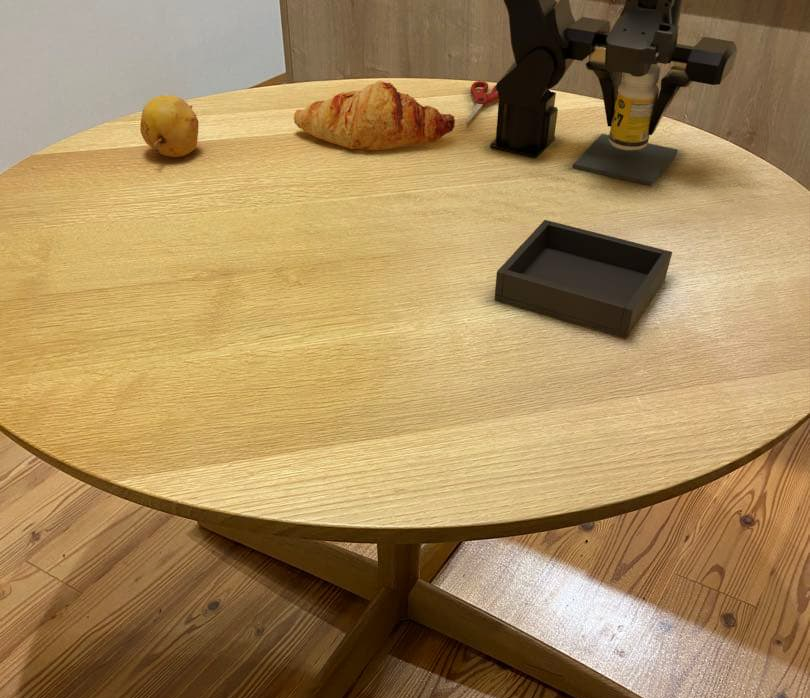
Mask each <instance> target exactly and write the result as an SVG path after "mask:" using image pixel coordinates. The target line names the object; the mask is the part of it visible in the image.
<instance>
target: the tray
mask: <svg viewBox="0 0 810 698" xmlns="http://www.w3.org/2000/svg"><path fill="white" fill-rule="evenodd" d="M672 256H673V251H670V250H666V249H662V248H659V247H655V246H650V245H646V244H643V243H638V242H634V241H630V240H626V239H624V238H619V237H615V236H610V235H607V234H603V233H599V232H595V231H591V230H588V229H583V228H579V227H577V226H571V225H568V224H564V223H560V222H555V221H551V220H548V219H543V221H542V222H541V223H540V224H539V225H538V226H537V227H536V228H535V229H534V231H533V232H532V233H531V234H530V235H529V236H528V237H527V238H526V239H525V240H524V241H523V243H522V244H521V245H520V246H519V247H518V248H516V250H515V251H514V252H513V253H512V254H511V255H510V257H509V258H507V260H506V261H505V262H504V263H503V264H502V265H501V266H500V268H498V270H497V271H496V277H495V288H494V289H495V290H494V301H497V302H501V303H504V304H508V305H511V306H514V307H517V308H521V309H524V310H527V311H532V312H535V313H538V314H541V315H545V316H547V317H551V318H555V319H558V320H562V321H565V322H568V323H571V324H575V325H578V326H581V327H585V328H588V329H592V330H595V331H598V332H601V333H604V334H608V335H611V336H615V337H619V338H622V339H624V340H625V339H628V337H629V336H630V334H631V332H632V331H633V329H634V328H635V326H636V325H637V324H638V322H639V320H640V319H641V317H642V316H643V314H645V313H644V312H645V311H646V310H647V308H648V307H649V305H650V304H651V302H652V300H653V299H654V298H655V296H656V295H657V293H658V291H659V290H660V288H661V287H662V285H663V284H664V282H665V281H666V278H667V274H668V271H669V268H670V263H671V258H672Z"/></svg>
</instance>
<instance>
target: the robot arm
mask: <svg viewBox="0 0 810 698" xmlns="http://www.w3.org/2000/svg"><path fill="white" fill-rule="evenodd" d="M503 3H504V5H505V8H506V10H507V15H508V24H509V25H508V26H509V35H510V37H509V38H510V46H511V50H512V54H513V58H514V61H513V63H512V64H511V65H510V66H509V68H508V69H507V71H506V72H504V74H503V75H502V76H501V78H500V79H499V80H498V81H497V83H496V84H495V85H496V89H497V91H496V93H498V97H499V100H498V105H497V117H496V131H495V133H496V134H495V139H494V140H492V141H491V142H490V144H489V149H491V150H495V151H499V152H504V153H508V154H512V155H517V156H520V157H521V156H522V157H525V158H530V159H537V158H539V157H540V156H541V155H542V154H543V153H544V152H545V151H546V150H547V149H548V148H549V147H550V146H551V145H552V144H553V143H554V142H555V141H556V129H557V128H556V127H557V122H558V121H557V119H558V111H559V109H558V106H555V103H556V97H557V96H556V95H557V92H556V91H551V90H550V89H552V88H554V87H555V86H557V85H558V84H559V83H560V82H561V80H562V78H563V77H564V76H565V74H566V73H567V71H568V70H569V68H570V67H571V66H572V64H573V63H574V61H579V62H583V61H584V60H585V59H586V58H587V57H588V61H586V63H585V68H586V70H588V71H592V72H593V74H595V76H596V78H597V79H598V82H599V86H600V88H601V94H602V99H603V105H604V112H605V119H606V124H607V125H606V126H607V127H610V128H611V123H612V118H613V112H614V107H615V101H616V96H617V90H618V87H619V85H620V84H621V83H622V82H623V74H624V73H628V74H631V75H632V76H635V77H641V76H644V75H646V74H647V73H648V71H649V69H650V66H651V65H652V64H655V65H658V64H663V65H668V64H669V66H668V67H669V71H668V72H667V73H665V75H664V76H663V77H662V78H661V80H660V89H659V95H658V99H657V103H656V106H655V109H654V112H653V115H652V119H651V122H650V127H649V133H648V135H650V136H652V135H654V133H655V132H656V130H657V128H658V126H659V124H660V123H661V121H662V119H663V117H664V116H665V114H666V112H667V110H668V108H669V106H670V105H671V103H672V101H673V99H674V98H675V96H676V95H677V93H678V92H679V90H680V89H681V88H687V87H689V86H690V85H691V84H692V83H693V82H694V83H700V84H704V85H711V86H718V85H721V84H722V82H723V81H724V80H725V79H726V78H727V76H728V75H729V74H730V72H732V70H733V67H734V65H735V60H736V57H737V53H738V47H737V46H736V43H735V41H733V40H726V39H721V38H714V37H708V36H703V37H702V38H701V39H700V40H699V41H698V42H697V43H696V44H695V45H694V46H692V45H687V44H681V43H678V37H679V28H680V25H679V24H680V18H681V13H682V10H683V5H684V0H625V2H624V6H623V8H622V11H621V12H620V15H619V17H618V18H617V19H616V21H615V23H614V24H613V26H612V27H611V23H610V21H609V20H605V19H599V18H598V19H597V18H592V17H585V16H581V17H580V18H578V19H577V20H575V18H574V16H573V12H572V7H571V3H570V0H503Z"/></svg>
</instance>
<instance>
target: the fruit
mask: <svg viewBox="0 0 810 698" xmlns="http://www.w3.org/2000/svg"><path fill="white" fill-rule="evenodd" d="M197 116H198V114H196V113H195V112H194V110H193V104H191V105H189V104H188V103H187V102H186V101H185V100H184V99H182V98H180V97H179V96H176V95H175V96H174V95H169V94H167V95H165V94H164V95H158V96H156V97H153V98H151V99H150V100H149V101H147V102H146V103H145V105H143V109H142V112H141V118H140V126H139V129H140V135H141V136H142V138H143V140H144V143H146V145H148V146H149V147H150V148H152V149H153V150H154V151H155V152H157V153H159V154H161V155H162V156H165V157H170V158H181V157H184V156H187V155H189V154H190V153H191V152H192V151H194V150H195V149H196V148H197V145H198V138H199V119H198V117H197Z"/></svg>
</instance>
